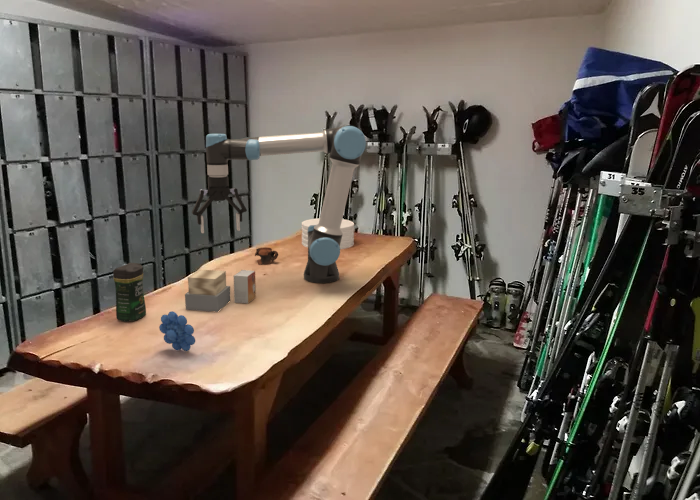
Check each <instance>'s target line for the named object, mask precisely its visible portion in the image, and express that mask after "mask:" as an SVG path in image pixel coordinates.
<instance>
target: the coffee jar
mask: <svg viewBox="0 0 700 500" xmlns="http://www.w3.org/2000/svg"><path fill="white" fill-rule="evenodd" d="M112 273H113V274H112V279H113V282H114V286H115V287H114V288H115V316H116V320H118V321H120V322H124V323H127V322H135V321H137V320H139V319H141V318H143V317H144V316H145V315H146V314H147V308H146V301H145V294H144V285H143V283H144V282H143V281H144V267H143V265H142V264H141V263H139V262H138V263H137V262H128V263H127V264H124V265H121V266H119V267H116V268H115V269H113V271H112Z"/></svg>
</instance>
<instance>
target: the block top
mask: <svg viewBox="0 0 700 500" xmlns="http://www.w3.org/2000/svg"><path fill="white" fill-rule="evenodd" d="M187 285H188V287H187V289H188V292H189V294H201V295H217V294H218V293H219V292H221V291H222V290H223V289H224V288H225V287H226V286H227V272H226V270H214V269H198V270H197V271H195V272H194V273H192V274H191V275H189V276H188V277H187Z"/></svg>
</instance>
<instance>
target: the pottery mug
mask: <svg viewBox="0 0 700 500" xmlns="http://www.w3.org/2000/svg"><path fill="white" fill-rule="evenodd" d="M255 250H256V251H255V253H254V257H260V259H257V261H256V262H257V265H271V263H274V262H275V260H277V259H278V256H279V253H278V251H277V250H273V248H271V247H266V246H265V247H258V248H255Z"/></svg>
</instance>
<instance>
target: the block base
mask: <svg viewBox="0 0 700 500" xmlns="http://www.w3.org/2000/svg"><path fill="white" fill-rule="evenodd" d="M229 301H230V302H231V286H230V285H226V287H225V288H224V289H223V290H222V291H221V292H219V293H218V294H217V295H201V294H189V291H187V292H186V293H185V294H184V303H185V304H184V305H185V310H186V311H187V310H189V311H200V312H202V311H203V312H211V311H215V312H216V313H218V311H219V310H220V309H221V310H222V309H223V308H224V307H225V306H226V305H228V304H229V303H230V302H229ZM228 302H229V303H228ZM221 310H220V311H221ZM220 311H219V312H220ZM215 312H214V313H215Z"/></svg>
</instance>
